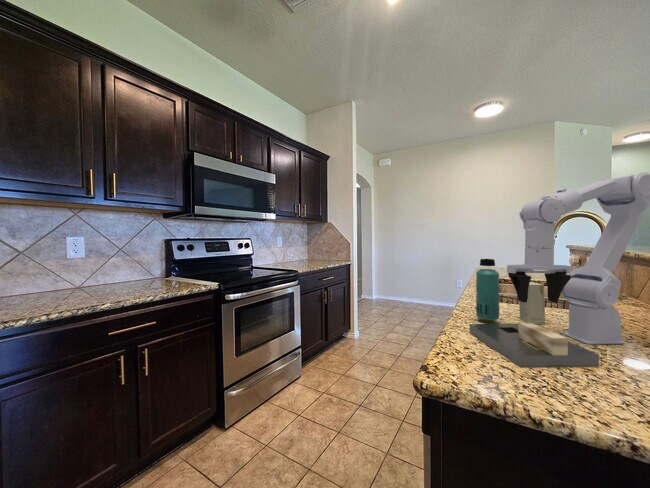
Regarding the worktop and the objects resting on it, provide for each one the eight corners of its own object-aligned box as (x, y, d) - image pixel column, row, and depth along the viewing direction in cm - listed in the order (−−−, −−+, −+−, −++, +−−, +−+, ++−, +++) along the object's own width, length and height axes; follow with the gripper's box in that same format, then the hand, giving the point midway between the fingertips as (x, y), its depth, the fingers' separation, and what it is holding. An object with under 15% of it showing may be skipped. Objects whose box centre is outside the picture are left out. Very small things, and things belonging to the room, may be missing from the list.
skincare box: (545, 325, 80) (545, 284, 80) (529, 324, 81) (529, 284, 81) (533, 319, 87) (533, 281, 86) (518, 318, 88) (518, 281, 87)
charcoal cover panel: (526, 332, 75) (527, 323, 75) (598, 366, 55) (598, 354, 55) (469, 333, 75) (469, 323, 75) (520, 367, 55) (520, 355, 55)
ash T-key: (567, 366, 55) (567, 338, 55) (552, 366, 55) (552, 338, 55) (530, 346, 65) (530, 322, 65) (518, 346, 65) (518, 322, 65)
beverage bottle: (499, 320, 86) (499, 258, 85) (499, 326, 80) (499, 259, 80) (476, 317, 89) (476, 257, 89) (475, 323, 84) (474, 259, 83)
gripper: (554, 247, 71) (553, 298, 72) (499, 247, 72) (498, 297, 72) (579, 248, 64) (577, 304, 65) (518, 248, 65) (517, 304, 65)
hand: (537, 301), depth 68 cm, fingers open, 7 cm apart
